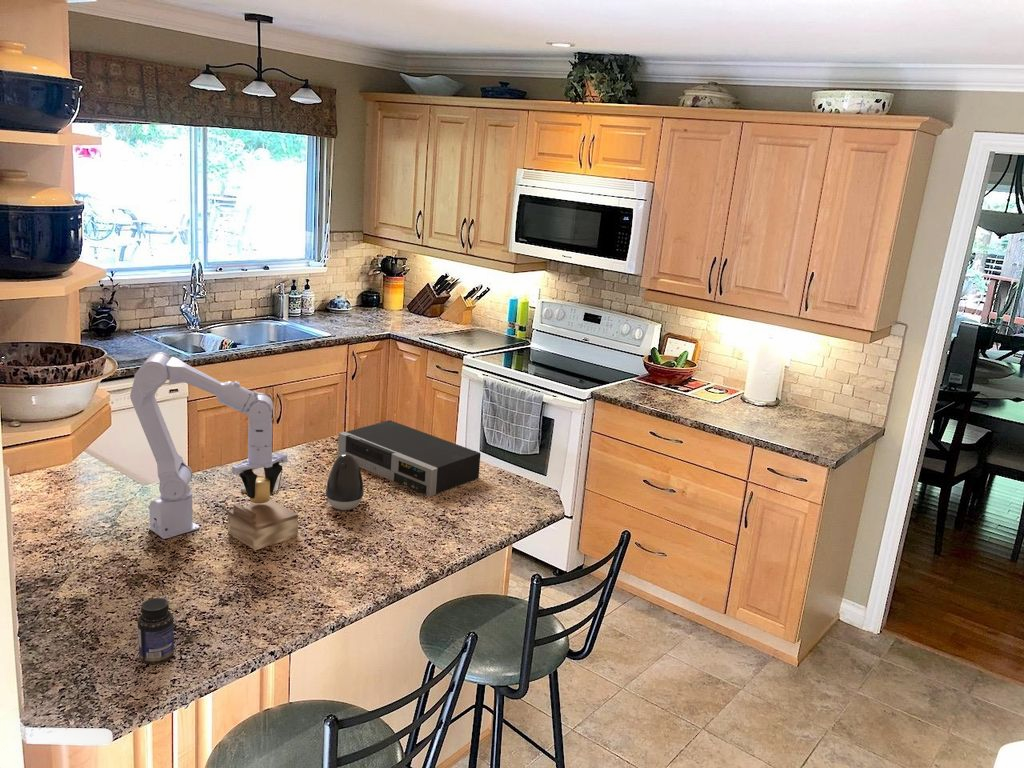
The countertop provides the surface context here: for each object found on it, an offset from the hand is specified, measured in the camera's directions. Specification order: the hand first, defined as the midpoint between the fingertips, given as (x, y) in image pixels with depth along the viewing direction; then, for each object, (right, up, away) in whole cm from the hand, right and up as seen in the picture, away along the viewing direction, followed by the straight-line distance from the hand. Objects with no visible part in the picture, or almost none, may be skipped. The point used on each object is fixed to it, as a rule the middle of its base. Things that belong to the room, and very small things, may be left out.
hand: (260, 494), depth 209 cm
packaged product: (-9, -1, +31) cm, 32 cm away
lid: (+2, -5, -3) cm, 6 cm away
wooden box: (+1, -10, -2) cm, 10 cm away
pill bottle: (-4, -24, -52) cm, 58 cm away
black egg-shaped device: (+17, -6, +18) cm, 26 cm away
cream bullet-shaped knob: (0, -1, 0) cm, 1 cm away
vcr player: (+30, +1, +49) cm, 57 cm away
